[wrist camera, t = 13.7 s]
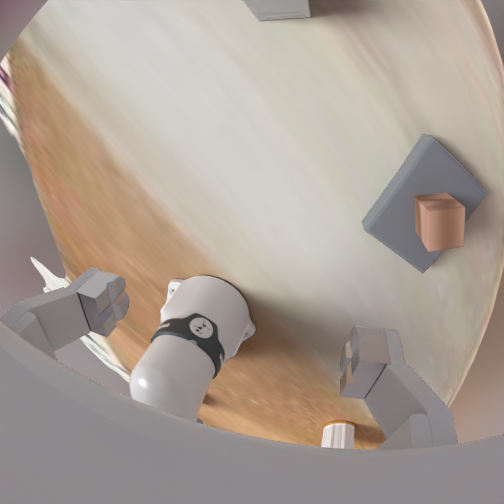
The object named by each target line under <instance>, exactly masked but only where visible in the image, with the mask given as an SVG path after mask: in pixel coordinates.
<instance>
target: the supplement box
mask: <svg viewBox="0 0 504 504" xmlns="http://www.w3.org/2000/svg"><path fill="white" fill-rule="evenodd" d="M242 1H243V2H244V3H245V4H246V6H247V7H248V8H249V9H250V11H251V12H252V13H253V14H254V16H255V17H256V18H257V19H258V21H264V20H274V19H288V18H306V17H310V8H309V0H242Z"/></svg>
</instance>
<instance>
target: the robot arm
mask: <svg viewBox="0 0 504 504" xmlns="http://www.w3.org/2000/svg"><path fill="white" fill-rule="evenodd" d="M125 288H126V282H125V278H123V277H122V276H120V275H116V274H113V273H110V272H107V271H103V270H100V269H96V268H89V269H88V270H87V271H85V272H84V273H83V274H82V275H81V276H79V277H78V278H77V279H76V280H75V281H74V282H72V283H71V284H70V285H69V286H68V287H67V288H64V287H63V288H60V289H56V290H53V291H50V292H47V293H44V294H41V295H38V296H36V297H32V298H29V299H26V300H23V301H21V302H17V303H16V304H15V305H14V306H13V307H11V308H10V309H9V310H8V311H7V312H6V313H5V314H4V315H3V316H2V317H0V504H504V434H501V435H498V436H493V437H489V438H485V439H480V440H475V441H470V442H464V443H458V440H457V435H456V430H455V424H454V420H453V415H452V411H451V410H450V409H449V408H448V407H447V406H446V405H445V403H444V402H443V401H442V400H441V399H440V398H439V397H438V396H437V395H436V394H435V393H434V391H433V390H432V389H431V388H430V387H429V386H428V385H427V384H426V383H425V382H424V381H423V380H422V379H421V377H420V376H419V375H418V374H417V373H416V372H415V371H414V370H413V369H412V368H411V367H410V366H406V363H405V359H404V354H403V350H402V346H401V342H400V338H399V334H398V332H397V330H392V329H380V328H372V327H364V326H357V325H354V326H353V328H352V330H351V332H350V341H349V342H347V343H346V344H345V347H344V349H343V352H342V356H341V363H340V370H341V371H342V373H343V376H342V378H341V380H340V396H342V397H350V398H358V399H364V401H365V403H366V405H367V406H368V408H369V410H370V411H371V413H372V415H373V416H374V418H375V420H376V421H377V423H378V425H379V426H380V428H381V430H382V432H383V433H384V435H385V437H386V438H387V440H386V441H385V442H384V443H383V444H382V445H380V446H379V447H378V448H377V449H376V450H365V449H341V448H328V447H317V446H308V445H300V444H293V443H286V442H280V441H274V440H268V439H263V438H258V437H253V436H248V435H244V434H239V433H235V432H231V431H227V430H223V429H219V428H216V427H212V426H208V425H205V424H201V423H198V422H197V418H198V414H199V411H200V407H201V405H202V402H203V400H204V398H205V395H206V393H207V391H208V388H209V386H210V383H211V381H212V379H214V378H215V377H216V376H217V374H218V372H219V371H220V369H221V367H222V365H224V364H225V363H226V362H227V360H228V359H231V358H232V357H233V355H235V354H236V352H237V350H238V348H239V346H240V344H241V343H242V342H243V341H245V340H246V339H247V338H249V337H250V336H252V335H253V334H254V332H255V330H256V328H255V325H254V324H253V322H252V321H251V319H250V317H249V310H248V306H247V303H246V301H245V300H244V298H243V296H242V295H241V294H240V293H239V292H238V291H237V290H236V289H235V288H234V287H233V286H231V285H230V284H228V283H227V282H225V281H223V280H221V279H218V278H215V277H211V276H195V277H192V278H189V279H185V280H182V279H173V280H171V282H170V283H169V287H168V295H167V302H166V303H165V305H164V306H163V308H162V309H161V325H160V327H158V329H157V330H156V331H155V333H154V335H153V337H152V339H151V345H150V346H149V347H148V349H147V350H146V352H145V353H144V355H143V356H142V358H141V359H140V360H139V362H138V363H137V365H136V366H135V368H134V369H133V371H132V373H131V376H130V391H131V396H132V398H129V397H127V396H125V395H123V394H120V393H118V392H116V391H114V390H112V389H109V388H107V387H105V386H103V385H101V384H99V383H97V382H95V381H93V380H91V379H89V378H87V377H85V376H84V375H82V374H80V373H78V372H76V371H74V370H73V369H71V368H69V367H67V366H65V365H64V364H62V363H60V362H59V361H58V359H57V358H56V356H55V354H54V351H56V350H58V349H60V348H61V347H63V346H65V345H67V344H69V343H71V342H73V341H74V340H76V339H78V338H80V337H82V336H84V335H86V334H88V333H90V331H92V332H95V333H97V334H100V335H102V336H105V337H108V336H109V335H110V334H111V332H112V331H113V330H114V329H115V328H116V326H117V324H116V321H119V320H121V319H123V318H124V317H125V315H126V314H127V312H128V309H129V296H128V294H127V293H126V292H125V290H124V289H125Z"/></svg>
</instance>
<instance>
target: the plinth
mask: <svg viewBox="0 0 504 504" xmlns="http://www.w3.org/2000/svg"><path fill="white" fill-rule="evenodd" d="M437 193H448V194H449V195H450V196H452V197H453V198H454V199H455V200H457V201H458V202H459V203H460V204H462V205H463V206H464V207H465V222H466V221H467V219H468V218H469V217H470V215H471V214H472V212H473V211H474V210H475V208H476V207H477V205H478V204H479V202H480V201H481V200H482V198H483V197H484V195H485V194H486V191H485V190H484V189H483V187H482V186H481V185H480V184H479V183H478V182H477V181H476V180H475V178H474V177H473V176H472V175H471V174H470V173H469V172H468V171H467V170H466V169H465V168H464V167H463V166H462V165H461V164H460V163H459V162H458V161H457V160H456V159H455V158H454V157H453V156H452V155H451V154H450V153H449V152H448V151H447V150H446V149H445V148H444V147H443V146H442V145H441V144H439V143H438V142H437V141H436V140H435V139H434V138H433V137H432V136H429V135H425V134H422V136H421V137H420V139H419V141H418V142H417V144H416V145H415V147H414V148H413V150H412V151H411V153H410V154H409V156H408V157H407V159H406V160H405V162H404V163H403V165H402V166H401V168H400V169H399V170H398V172H397V173H396V175H395V176H394V178H393V179H392V181H391V182H390V183H389V185H388V186H387V188H386V189H385V190H384V192H383V193H382V195H381V196H380V197H379V199H378V200H377V202H376V203H375V204H374V206H373V207H372V208H371V210H370V211H369V212H368V214H367V215H366V216H365V218H364V219H363V220H362V223H363V227H364V230H365V231H366V232H368V233H369V234H370V235H372V236H373V237H375V238H376V239H377V240H379V241H380V242H382V243H383V244H384V245H386V246H387V247H388V248H390V249H391V250H393V251H394V252H395V253H397V254H398V255H399V256H401V257H402V258H403V259H405V260H406V261H407V262H408V263H410V264H411V265H412V266H414V267H415V268H416V269H417V270H419V271H420V272H421V273H424V272H425V271H426V270H427V269H428V268H429V267H430V265H431V264H432V263H433V262H434V261H435V260H436V258H437V257H438V256H439V255H440V254H441V252H442V251H443V250H437V251H430V252H428V250H427V249H426V247H425V245H424V244H423V242H422V241H421V239H420V237H419V236H418V234H417V233H416V230H415V203H414V196H417V195H427V194H437Z"/></svg>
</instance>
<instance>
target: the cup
mask: <svg viewBox="0 0 504 504" xmlns="http://www.w3.org/2000/svg"><path fill="white" fill-rule="evenodd" d="M354 430H355V425H354V424H353V423H351V422H348V421H333V422H330V423H328V424H326V425H324V429H323V431H324V432H323V438H322V444H321V447H328V448H341V449H354Z"/></svg>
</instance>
